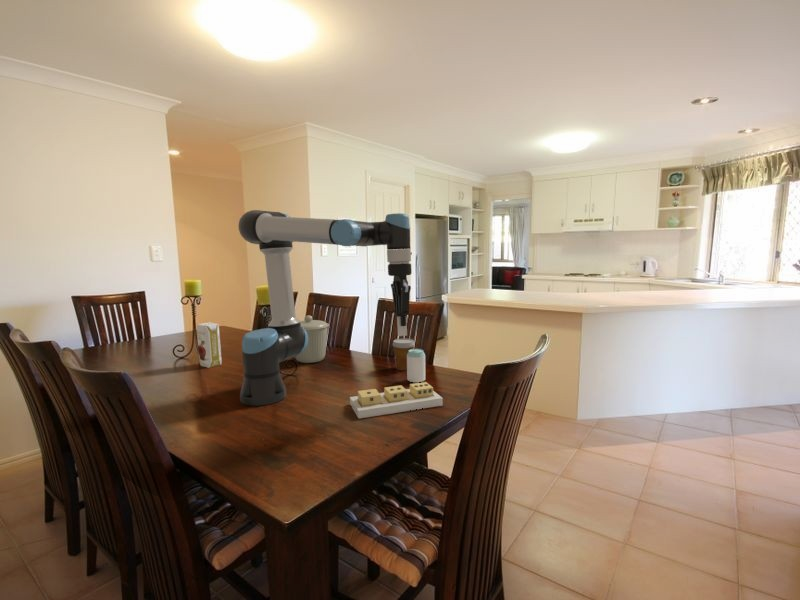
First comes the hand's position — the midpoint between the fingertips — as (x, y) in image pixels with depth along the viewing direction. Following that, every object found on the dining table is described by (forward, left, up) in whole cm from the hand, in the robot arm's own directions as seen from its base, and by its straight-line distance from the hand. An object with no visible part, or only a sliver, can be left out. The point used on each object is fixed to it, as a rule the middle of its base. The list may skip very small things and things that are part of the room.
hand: (402, 335), depth 131 cm
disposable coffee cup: (+13, +35, -23) cm, 44 cm away
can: (+12, +18, -23) cm, 32 cm away
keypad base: (-3, -2, -23) cm, 23 cm away
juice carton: (-66, +72, -23) cm, 101 cm away
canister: (-23, +63, -23) cm, 71 cm away
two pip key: (-3, -2, -21) cm, 21 cm away
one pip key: (-12, -2, -21) cm, 24 cm away
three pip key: (+6, -2, -21) cm, 22 cm away
